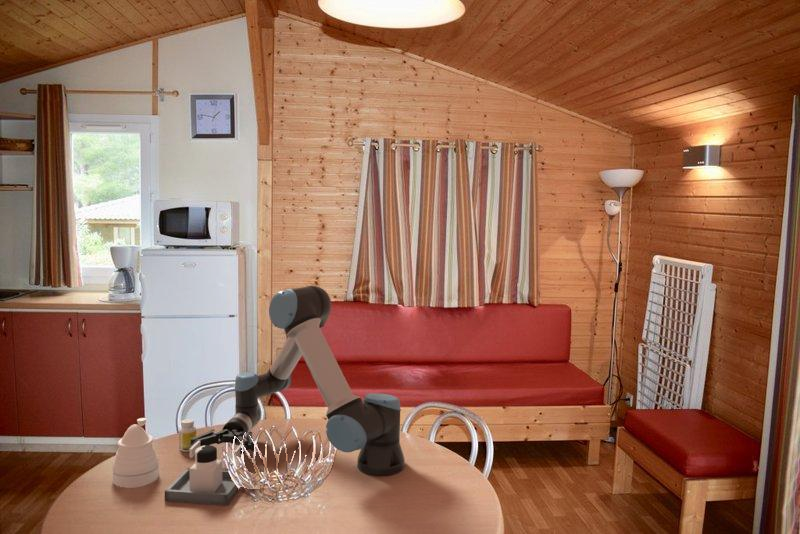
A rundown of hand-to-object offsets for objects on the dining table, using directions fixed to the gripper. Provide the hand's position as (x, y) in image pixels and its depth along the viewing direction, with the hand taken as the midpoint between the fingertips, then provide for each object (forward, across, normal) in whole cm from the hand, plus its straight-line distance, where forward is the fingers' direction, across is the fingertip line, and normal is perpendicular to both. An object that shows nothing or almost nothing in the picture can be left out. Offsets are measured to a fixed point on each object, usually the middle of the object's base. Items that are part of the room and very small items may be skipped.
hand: (212, 454), depth 186 cm
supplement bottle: (-23, +18, -9) cm, 30 cm away
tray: (+5, 0, -9) cm, 10 cm away
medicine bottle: (+5, 0, -8) cm, 9 cm away
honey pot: (0, +24, -9) cm, 26 cm away
